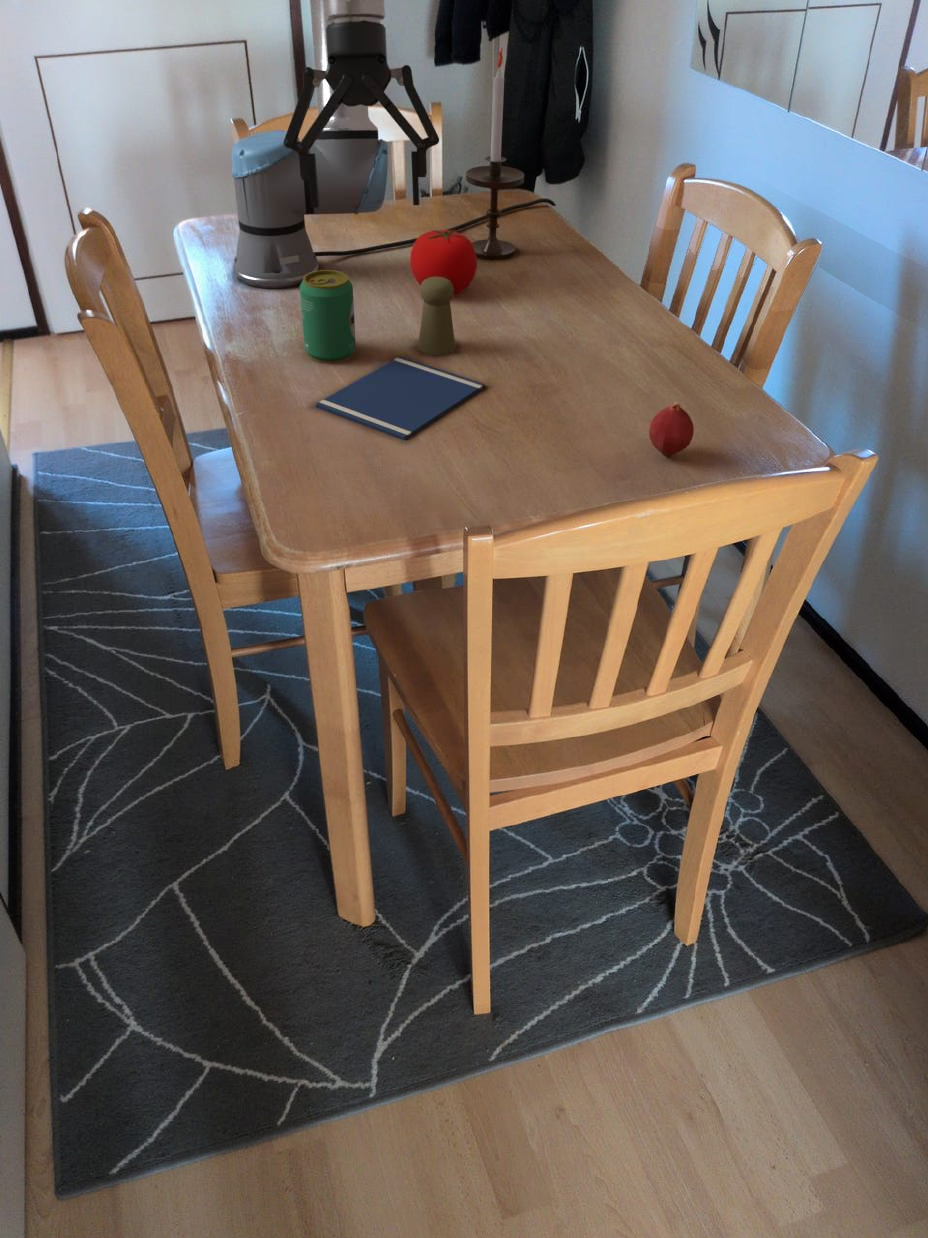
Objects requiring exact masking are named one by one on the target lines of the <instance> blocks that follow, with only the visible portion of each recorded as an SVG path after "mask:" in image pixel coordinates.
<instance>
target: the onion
mask: <svg viewBox="0 0 928 1238" xmlns="http://www.w3.org/2000/svg"><path fill="white" fill-rule="evenodd" d="M648 429H649V430H648V438H649V439H650V443H651V445H652V446H653V448H655V449H656V450H657V451H658V452H660V453H661V455H662V456H663V457H666V458H670V457H673V456H674V455H676V454H678V453H680V452H682V451H684V450H685V449H687V448H688V446H689V445H690V444H691V442H692V440H693V437H694V431H695V427H694V423H693V420H692V419H691V416H690V415H689V413H688V412H687V411H686V410H684V409H683V408H682V407H681V404H680V403H679V402H676V401H675V402H674V403H672V405H670V406H667V407H665V408H662V409H661V410H660V411H659V412H658V413H657V414H656V415H655V416H654V417H653V418H652V420H651V422H650V426H649V428H648Z"/></svg>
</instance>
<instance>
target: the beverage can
mask: <svg viewBox="0 0 928 1238" xmlns="http://www.w3.org/2000/svg"><path fill="white" fill-rule="evenodd" d="M299 295H300V296H299V297H300V308H301V320H302V331H303V343H304V344H303V345H304V351H305V352H306V354H307V356H308V357H309V359H311V360H313V361H315V362H318V363H323V364H336V363H342V362H345V361H347V360H349V359H351V358H352V357H353V355H354V352H355V350H356V349H357V345H356V327H355V326H356V324H355V323H356V322H355V301H354V285H353V283H352V282H351V280H350V279H349V275H348V274H347V273H345V272H343V271H339V270H335V269H320V270H319V269H318V271H313V272H310V273H308V274H306V275H305V276H304V277H303V281H302V283H301V285H299Z"/></svg>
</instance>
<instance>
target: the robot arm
mask: <svg viewBox="0 0 928 1238" xmlns="http://www.w3.org/2000/svg"><path fill="white" fill-rule="evenodd" d="M309 5H310V19H311V34H312V47H313V59H314V60H313V61H314V62H313V63H314V68H312V67H310V66H306V67H304V69H303V73H302V74H303V75H302V76H303V77H302V78H303V79H302V89H301V90H300V91H301V92H300V94H299V97H298V100H297V103H296V105H295V108H294V112H293V113H292V117H291V119H290V122H289V124H288V128H287V130H283V129H282V130H281V129H280V130H279V129H277V130H267V131H263V132H257V133H254V134H251V135H248V136H246V137H243V138H241V139H240V140H238V141H237V142H235V144H234V145H233V146H232V149H231V153H230V154H231V168H232V169H231V177H233V183H234V184H233V185H234V193H235V202H236V203H235V204H236V211H237V219H238V228H239V233H238V239H237V245H236V256H235V257H234V259H233V272H234V277H235V278H236V280H238V281H239V282H241V283H242V284H245V285H248V286H251V287H256V288H264V289H282V288H283V289H284V288H290V287H292V288H293V287H295V286H300V285H301V283H302V281H303V277H304V276H305V275H306V274H308V273H310V272H313V271H318V270H319V260H318V258H319V257H345V256H352V255H353V256H354V255H359V254H366V253H370V252H375V251H379V250H380V251H381V250H385V249H390V248H395V247H396V248H397V247H402V246H407V245H411V244H414V243H415V241H416V240H417V238H418V237H414V238H411V239H406V240H405V239H404V240H400V241H395V242H390V243H384V244H379V245H374V246H368V247H363V248H358V249H350V250H341V251H340V250H336V251H335V250H332V251H331V250H330V251H329V250H327V251H314V250H313V247H312V243H311V240H310V237H309V236H308V232H307V230H306V221H305V220H306V219H305V216H307V215H308V216H309V215H345V214H347V215H348V214H354V215H359V214H364V213H366V214H367V213H374V212H377V211H379V210H380V209H381V208H382V206H383V204H384V201H385V196H386V189H387V181H388V168H389V167H388V164H389V157H388V153H389V147H388V142H387V141H386V140H384V139H383V138H380V139H379V128H378V127H377V126H376V125H375V123H373V121H372V120H371V119H370V115H369V107H373V106H376V104H378V103H379V104H380V105H381V106H382V107H383V109H384V110H385V111H386V112H387V113H388V114H389V116H390V117H391V118H392V119H393V121H394V122H395V123H396V124H397V125H398V127H399V128H400V129H401V130H402V132H403V134H405V135H406V136H407V138H408V139H409V140H410V141H411V142H412V144H413V145H414V146H415V148H416V150H414V151H413V150H411V151H410V153H411V155H410V156H411V181H412V184H411V185H412V204H413V205H412V206H420V187H419V186H420V185H419V178H426V177H427V174H428V173H427V172H428V170H427V169H428V167H427V151H428V150H429V149H430V148H432V147H434V146H436V145H438V144H439V142H440V137H439V134H438V133H437V131H436V129H435V127H434V125H433V122H432V120H431V118H430V116H429V114H428V112H427V110H426V108H425V106H424V104H423V102H422V99H421V97H420V96H419V94H418V91H417V89H416V87H415V85H414V77H413V71H412V67H411V66H410V65H409V64H404V65H403V66H401V67H394V68H390V66H389V64H388V53H387V51H388V50H387V32H386V27H385V25H384V24H383V23H381V21H384V19H385V18H386V12H385V11H386V10H385V9H386V7H385V6H386V5H385V0H309ZM392 79H394V80H396V82H397V84H398V86H400V87H404V91H405V93H406V95H407V97H408V99H409V101H410V103H411V105H412V107H413V109H414V111H415V113H416V115H417V117H418V120H419V121H420V123H421V125H422V128H423V130H424V132H425V134H426V135H427V137H425V138H423V139H422V137H421V136H420V134H419V133H418V132H417V130H415V128H414V127H413V125H411V124H410V122H409V121H408V120H407V118H406V117H405V116H404V115H403V113H402V112H401V111H400V110H399V108H398V107H397V106H396V105H395V104H394V102H393V101H392V100H391V98H390V97H389V96H388V95H387V94H386V93H385V91H386V89H387V87H388V86H389V84H390V83H391V80H392ZM315 89H316V101H317V117H316V118H315V120H314V121H313V123H312V124H311V126H310V127H309V129H308V130H307V131H306V133H305V135H304V136H303V138H302V139H301V140H300V137H299V135H300V132H301V130H302V127H303V124H304V121H305V119H306V116H307V113H308V110H309V107H310V106H311V102H312V100H313V97H314V93H315ZM541 203H547V204H549V205H550V206H552V207H556V206H557V204H556V203H555V201H553V199H550V198H545V197H544V198H538V199H534V200H531V201H528V202H524V203H518V204H515V205H511V206H507V207H505V208H502V209H499V210H500V211H501V214H500V215H502V214H504V213H507V212H511V211H514V210H519V209H523V208H528V207H531V206H534V205H538V204H541ZM485 220H489V217H488V216H487V214H485V215H482V216H480V217H477V218H475V219H472V220H469V221H466V222H464V223H461V224H459V225H456V226H452V227H450V228H447V229H446V230H450V231H451V230H454V231H455V232H458V231H460V230H462V229H464V228H467V227H469V226H472V225H475V224H477V223H481V222H482V221H485ZM455 229H456V230H455ZM317 257H318V258H317Z"/></svg>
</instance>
